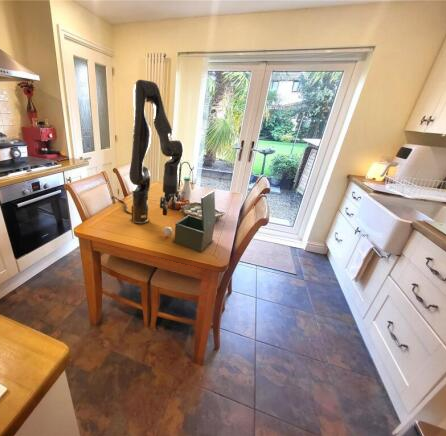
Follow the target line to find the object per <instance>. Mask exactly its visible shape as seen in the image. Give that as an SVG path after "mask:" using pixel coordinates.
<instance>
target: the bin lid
mask: <svg viewBox="0 0 446 436" xmlns="http://www.w3.org/2000/svg"><path fill="white" fill-rule="evenodd" d="M215 197H216V196H215V190H212V191H210V192H208V193H207V194H205V195H204V196H202V197H200V203H201V209H202V227H203V232H205V231H206V230H207V229H208V228H209V227H210V226H212V225H213V224H214V223H215V224H216V220H215V209H216V198H215ZM215 224H214V225H215Z"/></svg>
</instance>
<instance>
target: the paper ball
mask: <svg viewBox="0 0 446 436" xmlns="http://www.w3.org/2000/svg"><path fill="white" fill-rule="evenodd" d="M162 234H163V236H164V237H166V238H169V237H171V236H172V235H173V229H172V227H169V226H165V227H164V228H163V229H162Z"/></svg>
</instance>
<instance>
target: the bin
mask: <svg viewBox="0 0 446 436" xmlns="http://www.w3.org/2000/svg"><path fill="white" fill-rule="evenodd" d="M215 224H216V222H215V223H214V224H213V225H212V226H210V227H209V228H208V229H207V230H206V231H205V232H203V227H202V219H200V218H198V217H193V216H192V215H191V216H190V215H188V216H187V215H186V216H184V217H183V218H182V219H180V220H179V221H177V222H176V223H175V226H174V240H173V242H174V243H176V244H179V245H180V246H181V245H182V246H184V247H187V248H189V249H192V250H195V251H198V252H200V253H202V252H203V250H205V249H206V248H207V247H208V245H210V243H212V242H213V237H214V231H215Z"/></svg>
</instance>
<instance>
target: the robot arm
mask: <svg viewBox="0 0 446 436" xmlns="http://www.w3.org/2000/svg"><path fill="white" fill-rule="evenodd" d="M160 91H161V90H160V89H159V86H158V84H157V83H156V82H154V81H151V80H146V79H137V80H136V81H135V84H134V86H133V132H132V149H131V161H130V167H129V174H128V175H129V181H130V182H131V184H133V185H134V187H133V188H132V205H131V206H130V207H131V208H130V209H131V212H130V211H128V210H126V207H127V206H126V202H125V201H123V200H121V199H119V198H117V197H116V196H112V199H115V200H116V201H119V202H121V203H122V204H123V207H124V208H123V211H124V212H125V213H127V214H129V215H131V220H132V222H133V223H134V224H141V225H142V224H146V223H148V222H149V192H150V189H151V188H150V187H151V172H150V170H149V168H148V167H147V166H144V160H145V157H146V155H147V153H148V151H149V149H150V146H151V140H152V139H151V138H152V130H151V126H150V124H149V121H148V119H147V118H148V117H147V116H146V103H150V104H151V107H152V108H153V111H154V114H153V126H154V129H155V131H156V133H157V136H158V139H159V145H160V151H161V153H162V155H163V156H165V158H166V157H167V158H170V159H169V160H166V161H165V162H164V165H163V178H162V192H163V193H164V196H160V201H159V208H160V209H162V216H165V217H167V215H168V208H169V206H170V204H171V207H170V209H171V211H176V208H177V207H176V206H177V203H178V202H180V191H179V180H180V179H179V170H180V164H181V161H182V157H183V155H184V145H183V144H184V143H182V141H181V140H177V139H176V140H171V138H172V137H173V136H174V131H173V128H172V126H171V123H170V121H169V119H168V117H167V114H166V111H165V107H164V103H163V99H162V95H161V92H160Z"/></svg>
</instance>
